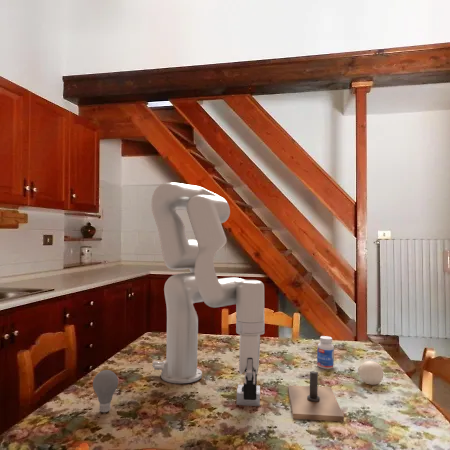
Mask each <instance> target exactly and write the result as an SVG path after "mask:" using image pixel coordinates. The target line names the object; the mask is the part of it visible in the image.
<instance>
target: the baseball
mask: <svg viewBox="0 0 450 450" xmlns="http://www.w3.org/2000/svg"><path fill="white" fill-rule="evenodd" d="M357 375H358V376H359V377H360V379H361V380H362V381H363V382H364V383H365V384H368V385H370V386H374V385H378V384H380V383H381V382H382V380H383V378H384V370H383V367H382V366H381V364H379V363H378V362H376V361H373V360H366V361H363V362H362V363H361V364H360V365H359V366H358V368H357Z"/></svg>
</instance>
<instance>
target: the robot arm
mask: <svg viewBox="0 0 450 450" xmlns="http://www.w3.org/2000/svg"><path fill="white" fill-rule="evenodd" d="M177 211H185V212H187V216H188V219H189V221H190V225H191V228H192V231H193V235H194V237H195V239H189V238H188V235H187V231H186V227H185V223H184V222H183V220H182V218H181V217H180V216H179V215H178V213H177ZM151 212H152V216H153V219H154V222H155V224H156V227H157V231H158V237H159V242H160V248H161V253H162V258H163V262H164V265H165V267H166V268H167V269H169V270H172V271H173V270H174V271H175V270H178V271H179V270H189V272H183V273H176V274H173V275H171V276H169V277H168V279H167V280H166V281H165V283H164V288H163V291H164V299H165V304H166V305H165V306H166V349H165V351H166V355H165V356H166V357H165V360H162V361H160V360H159V361H157V360H153V361H152V368H154V370H157V371H160V370H161V372H160V378H161V379H162V380H163V381H165V382H167V383H170V384H181V385H182V384H190V383H194V382H198V381H199V380H200V379H202V378H203V377H202V376H203V371H202V370H201V369H200V368H198V346H199V345H198V340H199V339H198V335H199V316H198V314H197V311H196V309H195V306H194V304H195V303H203V302H204V304H205V305H206V306H208V307H210V308H213V309H215V308H220V307H227V306H232V305H236V306H235V307H236V308H235V314H236V315H235V318H236V319H235V322H236V323H235V326H236V328H235V332H236V334H238V335H239V359H238V360H239V365H238V366H239V369H238V373H239V374H244V381H243V385H244V400H256V385H258V383H257V382H258V380H257V377H258V375H257V374H258V373H259V367H260V366H259V365H260V355H261V336H262V335H264V334H265V284H264V283H263V282H262V281H261V280H257V279H244V278H241V277H240V278H239V277H236V276H235V277H234V276H233V277H223V278H218V275H217V273H216V269H215V263H214V261H215V257H216V256H215V255H216V254H217V252H218V251H219V250H221V249H222V248H223V247H224V246H225V245H226V244H227V242H228V241H227V240H228V239H227V236H226V233H225V231H224V229H223V228H224V227H223V226H222V224H223V223H225V222H226V221H228V220H229V217H230V215H231V209H230V205H229V203H228V201H227V200H226V199H225V198H224V197H222V196H220V195H219V194H217V193H214V192H213V191H210V190H208V189H206V188H205V187H202V186H199V185H194V184H186V183H182V182H181V183H180V182H163V183H160V184H159V185H157V187H156V188H155V190H153V193H152V197H151Z"/></svg>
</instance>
